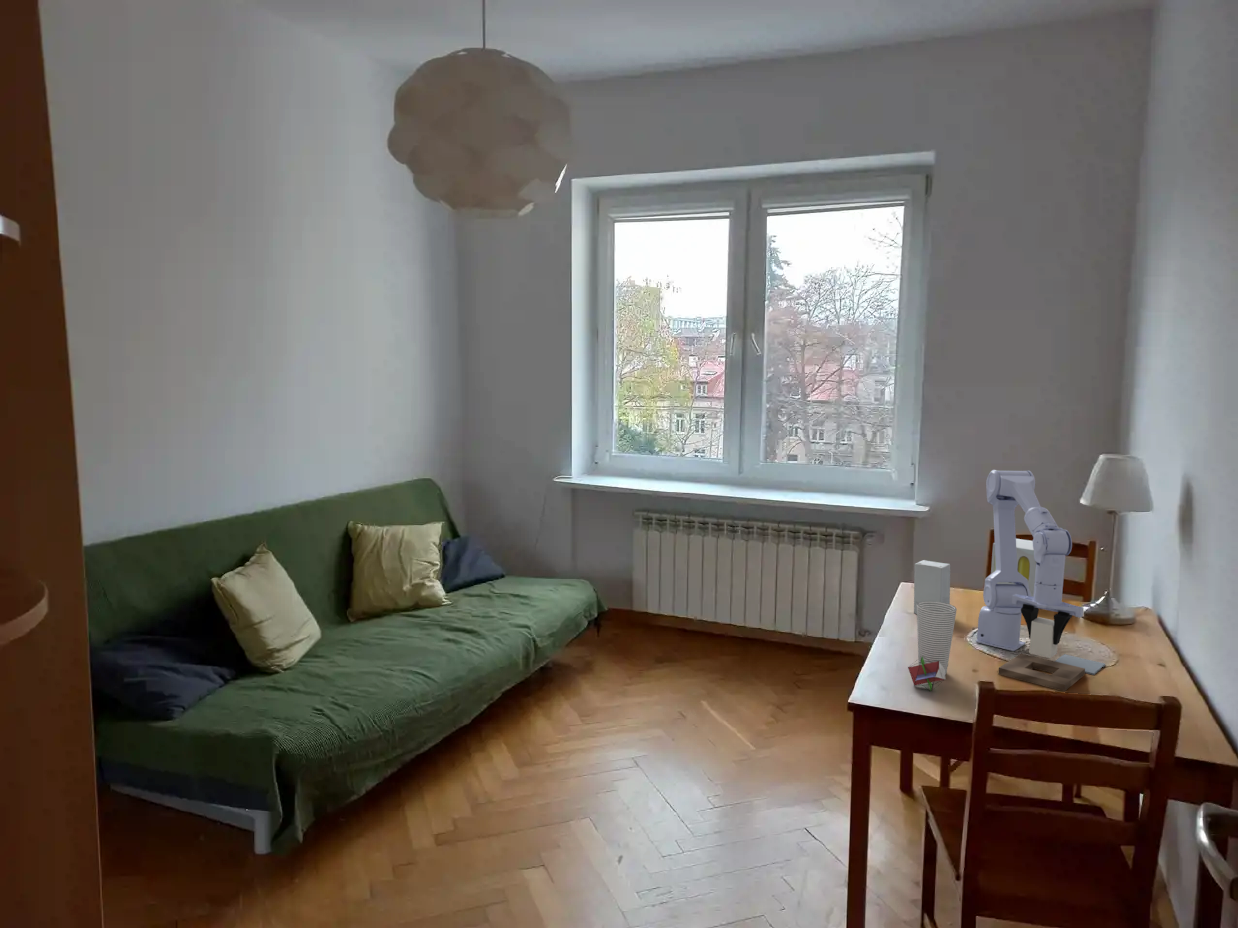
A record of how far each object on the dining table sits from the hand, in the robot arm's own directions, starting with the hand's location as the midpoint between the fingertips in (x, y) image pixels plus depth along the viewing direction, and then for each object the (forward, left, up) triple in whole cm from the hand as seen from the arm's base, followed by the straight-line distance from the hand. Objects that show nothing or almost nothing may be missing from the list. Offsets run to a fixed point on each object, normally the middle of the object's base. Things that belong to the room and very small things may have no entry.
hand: (1044, 640), depth 192 cm
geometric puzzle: (-15, -27, -8) cm, 32 cm away
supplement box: (-26, +60, -8) cm, 66 cm away
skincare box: (-38, +26, -8) cm, 47 cm away
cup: (-18, -17, -8) cm, 26 cm away
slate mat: (+4, +13, -8) cm, 16 cm away
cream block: (0, 0, -3) cm, 3 cm away
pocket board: (0, 0, -8) cm, 8 cm away
